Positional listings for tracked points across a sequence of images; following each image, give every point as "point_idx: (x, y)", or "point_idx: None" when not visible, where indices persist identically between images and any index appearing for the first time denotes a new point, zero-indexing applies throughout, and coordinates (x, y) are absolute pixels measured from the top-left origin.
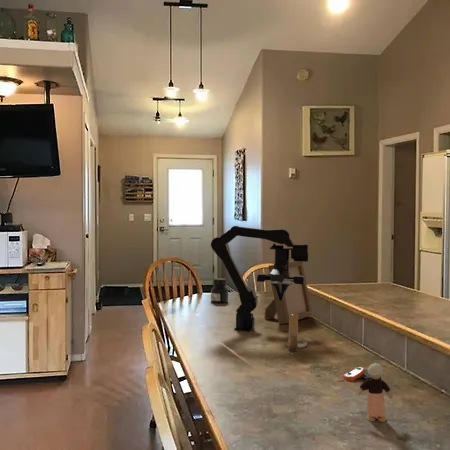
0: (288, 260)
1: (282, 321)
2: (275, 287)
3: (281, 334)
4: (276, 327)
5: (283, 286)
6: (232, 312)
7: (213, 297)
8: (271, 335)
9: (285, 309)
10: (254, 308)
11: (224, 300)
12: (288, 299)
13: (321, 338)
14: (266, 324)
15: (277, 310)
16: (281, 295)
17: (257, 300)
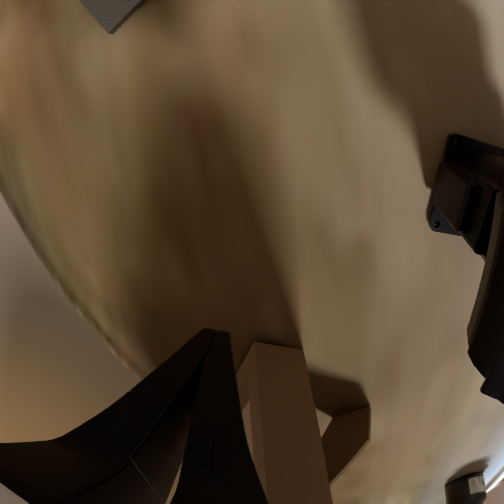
0: None
1: (282, 353)
2: (258, 499)
3: (240, 110)
4: (304, 280)
5: (58, 464)
6: (466, 432)
7: (482, 482)
8: (297, 62)
9: (257, 403)
10: (500, 196)
11: (457, 484)
12: None
13: (46, 119)
14: (363, 327)
15: (308, 406)
16: (182, 371)
17: (477, 357)
